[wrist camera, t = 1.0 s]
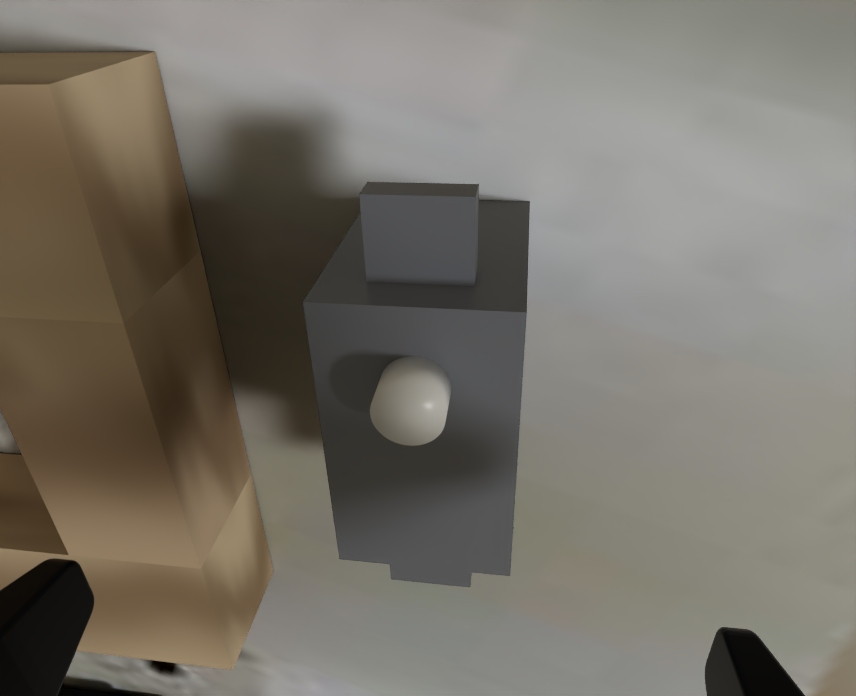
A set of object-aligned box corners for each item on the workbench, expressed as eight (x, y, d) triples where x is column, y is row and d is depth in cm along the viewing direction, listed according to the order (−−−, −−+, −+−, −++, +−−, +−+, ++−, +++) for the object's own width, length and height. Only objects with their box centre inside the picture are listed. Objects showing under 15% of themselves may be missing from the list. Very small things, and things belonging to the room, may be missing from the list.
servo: (513, 463, 18) (505, 657, 13) (389, 454, 18) (336, 638, 14) (534, 128, 13) (532, 239, 8) (365, 127, 14) (270, 232, 9)
